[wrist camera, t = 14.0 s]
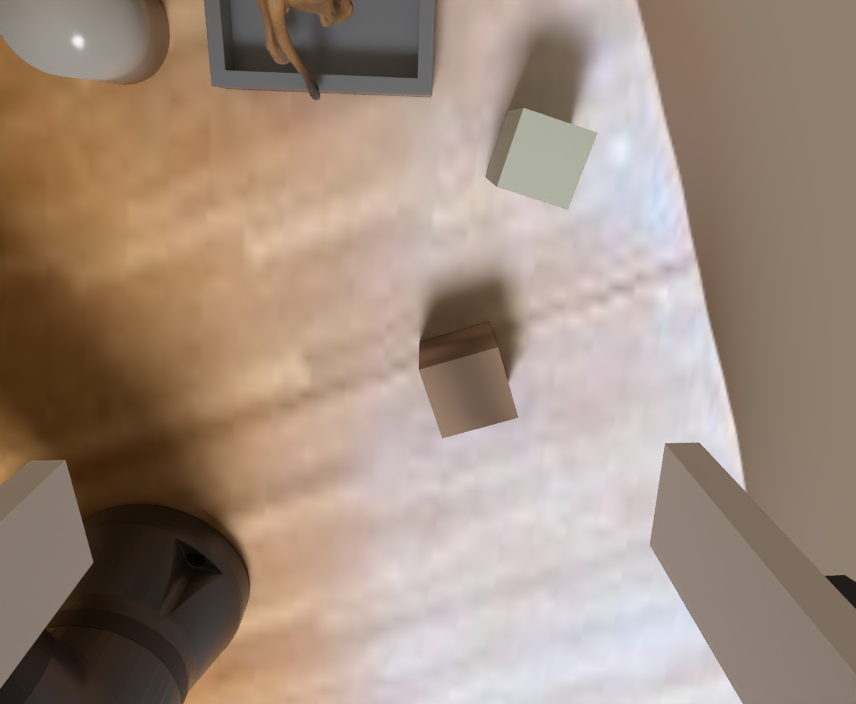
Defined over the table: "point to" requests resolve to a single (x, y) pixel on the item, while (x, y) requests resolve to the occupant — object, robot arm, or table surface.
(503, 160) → the sage block
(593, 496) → the table surface
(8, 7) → the pale grey rounded cylinder
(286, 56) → the lion figurine
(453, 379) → the walnut block
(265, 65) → the slate tray
